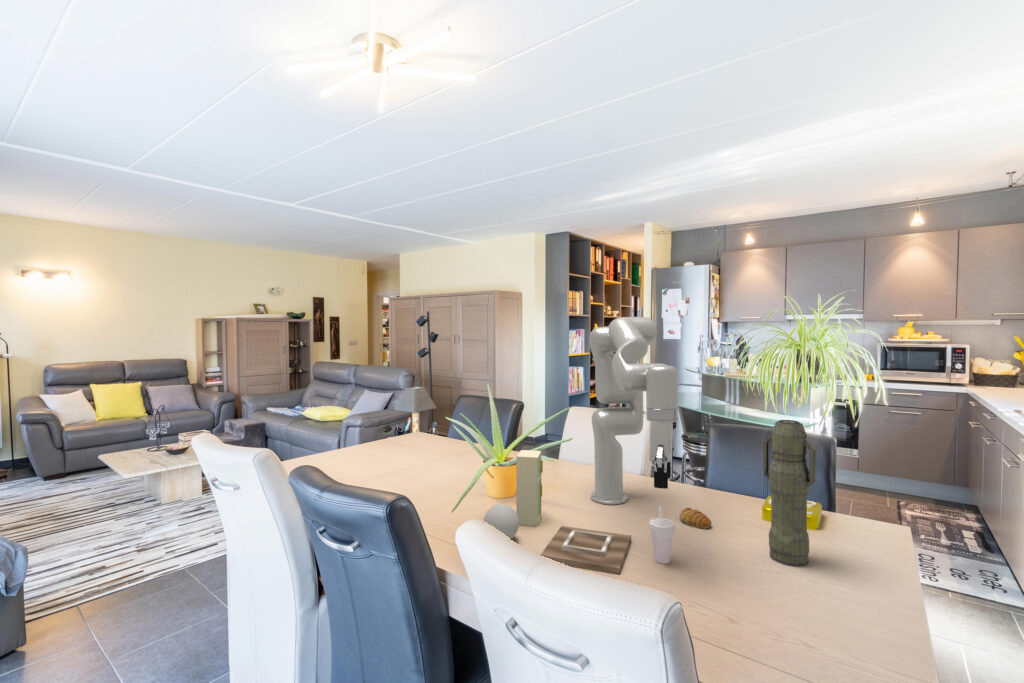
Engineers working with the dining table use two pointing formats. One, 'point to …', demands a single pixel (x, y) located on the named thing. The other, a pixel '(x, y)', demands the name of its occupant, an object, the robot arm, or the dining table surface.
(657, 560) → the smoothie
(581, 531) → the walnut board
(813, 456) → the thermos
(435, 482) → the dining table surface
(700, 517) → the pastry
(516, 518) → the ball
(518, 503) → the toy refrigerator
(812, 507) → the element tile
